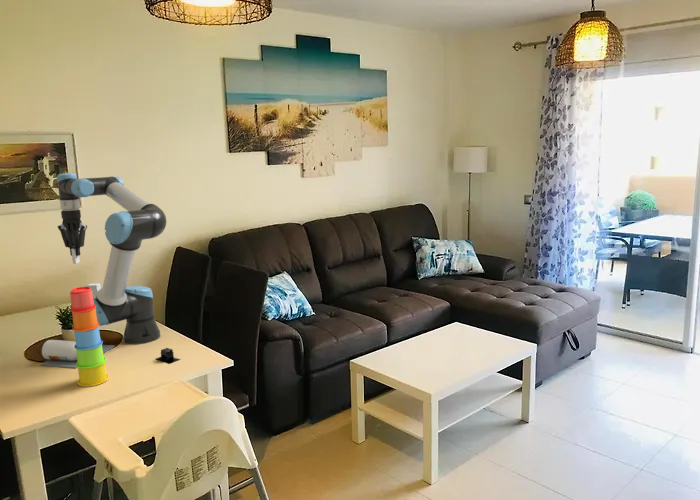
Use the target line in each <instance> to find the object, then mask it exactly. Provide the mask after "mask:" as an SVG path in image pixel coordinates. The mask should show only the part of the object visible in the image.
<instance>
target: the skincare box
mask: <svg viewBox="0 0 700 500" xmlns="http://www.w3.org/2000/svg"><path fill="white" fill-rule="evenodd" d="M85 287H90V289H91V290H92V294H93V299H95V298H96V296H97V292H98V291H99V290H100V289H101V288H102V285H101V283H88V284H86V286H85Z"/></svg>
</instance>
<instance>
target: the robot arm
mask: <svg viewBox="0 0 700 500" xmlns="http://www.w3.org/2000/svg"><path fill="white" fill-rule="evenodd" d="M56 178H57V179H56V180H57V181H56V183H57V189H58V195H59V196H58V197H59V205H60V210H61V211H60V214H61V219H62V223H61V224H60V225H57V228H58V231H59V232H60V235H61V238H62V241H63V243H64V247H65V248H69V253H70V256H71V258H72V264H75V265H76V264H79V263H81V259H80V256H81V248H83V247H84V246H85V239H86V230H87V229H88V225H87V224H86V225H85V224H84V223H83V222H82V220H81V218H82V214H81V210H80V208H81V206H80V205H81V204H80V203H81V202H80V198H88V197H94V196H95V197H96V196H106V197H109V199H111V200H113V202H115V203H116V204H118V205H119V206H120V207H122V208H123V209H124V211H123V210H122V211H118V212H113V213H111V214H110V215H109V216H108V217H107V219H106V220H105V223H104V230H105V232H104V234H105V237H106V240H107V241H108V243H109V244H110V246H111V249H110V252H109V258H108V262H107V267H106V271H105V275H104V279H103V283H102V287H101V289H100V290H99V291H98V292H97V296H96V298H95V299H93V301H94V305H96V308H95V310H96V316H97V322H98V323H99V326H100V327H101V326H108V325H111V324H114V323H115V324H116V323H118V322H122V321H125V320H126V323H125V329H124V333H123V342H125V343H127V344H145V343H150V342H154V341H157V340H158V339H159V338H160V337H161V331H160V328H159V326H158V324H157V322H156V319H155V307H154V296H153V295H154V294H153V290H152V288H150V287H148V286H143V285H132V286H130V285H129V286H127V283H128V280H129V276H130V273H131V272H130V271H131V268H132V265H133V259H134V255H135V252H136V251H138V250H139V249H140V248H141V247H142V246H141V245H142V242H143V240H150V239H154V238H156V237H158V236H160V235H161V234H163V232H164V231H165V229H166V225H167V217H166V214H165V212H164V211H163V209H161V208H160V207H159V206H158V205H156V204H154V203H149V202H147V201H146V200H145V199H143V198H142V197H140V196H139V195H137V194H136V193H135V192H133V191H131V190H130V189H129V188H127V187H126V186H125V182H124V181H123V179H122V178H121V177H120V176H105V177H104V176H103V177H89V178H87V177H86V178H85V177H84V178H77V174H76V173H59V174H57V176H56Z"/></svg>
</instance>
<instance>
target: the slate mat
mask: <svg viewBox="0 0 700 500" xmlns="http://www.w3.org/2000/svg"><path fill="white" fill-rule="evenodd" d="M115 347H116V345H111V344H109V345H108V344H102V350H103V354H105V353H106V352H108V351H110V350H112V349H115ZM77 362H78V361H77V360H75V361H65V360H49V359H47V360H46V361H44V362H42V363H40V364H39V366H41V367H53V368H54V367H55V368H64V369H78V367H77V366H76V363H77Z"/></svg>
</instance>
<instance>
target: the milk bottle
mask: <svg viewBox="0 0 700 500" xmlns="http://www.w3.org/2000/svg"><path fill="white" fill-rule="evenodd" d="M75 344H76V342H75V340H60V339H48V340H46V341H45V342H44V344H43V345H42V347H41V355H42V357H43V358H44V359H45V360H65V361H75V360H77V352H76V349H75V347H74V346H75Z"/></svg>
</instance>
